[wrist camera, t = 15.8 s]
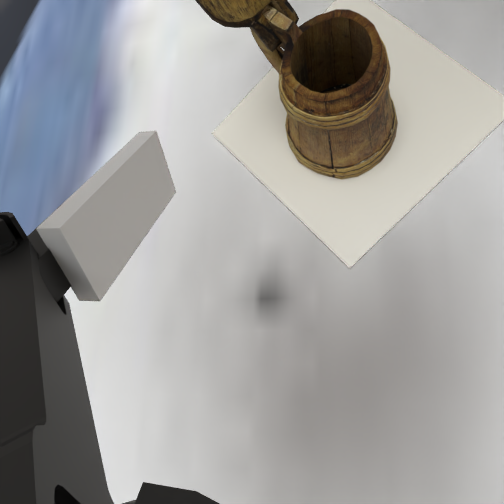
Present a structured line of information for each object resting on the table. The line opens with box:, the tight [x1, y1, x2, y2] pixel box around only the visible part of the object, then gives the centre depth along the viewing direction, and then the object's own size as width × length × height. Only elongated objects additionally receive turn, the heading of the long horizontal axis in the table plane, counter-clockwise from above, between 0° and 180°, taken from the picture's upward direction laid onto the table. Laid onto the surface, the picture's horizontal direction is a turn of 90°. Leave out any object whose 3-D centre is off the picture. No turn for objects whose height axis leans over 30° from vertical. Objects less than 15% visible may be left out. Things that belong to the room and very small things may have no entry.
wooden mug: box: [196, 0, 398, 179], centre depth 27 cm, size 9×14×18 cm, turn 50°
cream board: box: [212, 0, 504, 268], centre depth 35 cm, size 18×18×1 cm
